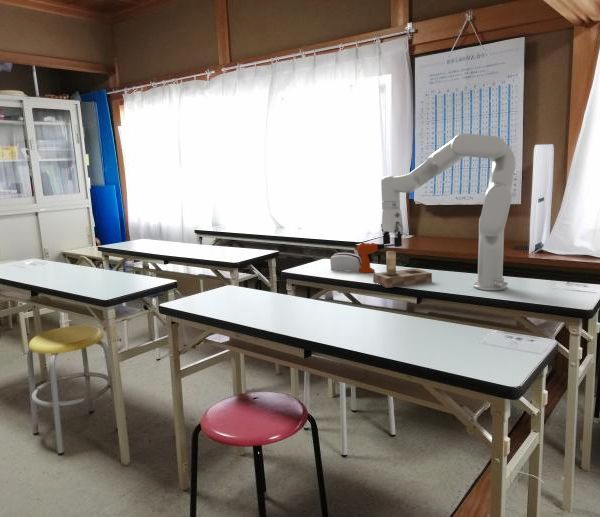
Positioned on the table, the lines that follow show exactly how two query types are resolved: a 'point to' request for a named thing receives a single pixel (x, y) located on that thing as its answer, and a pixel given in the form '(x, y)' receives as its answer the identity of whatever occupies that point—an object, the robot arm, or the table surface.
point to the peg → (391, 263)
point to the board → (403, 278)
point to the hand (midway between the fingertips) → (392, 245)
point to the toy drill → (365, 257)
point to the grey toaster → (345, 261)
